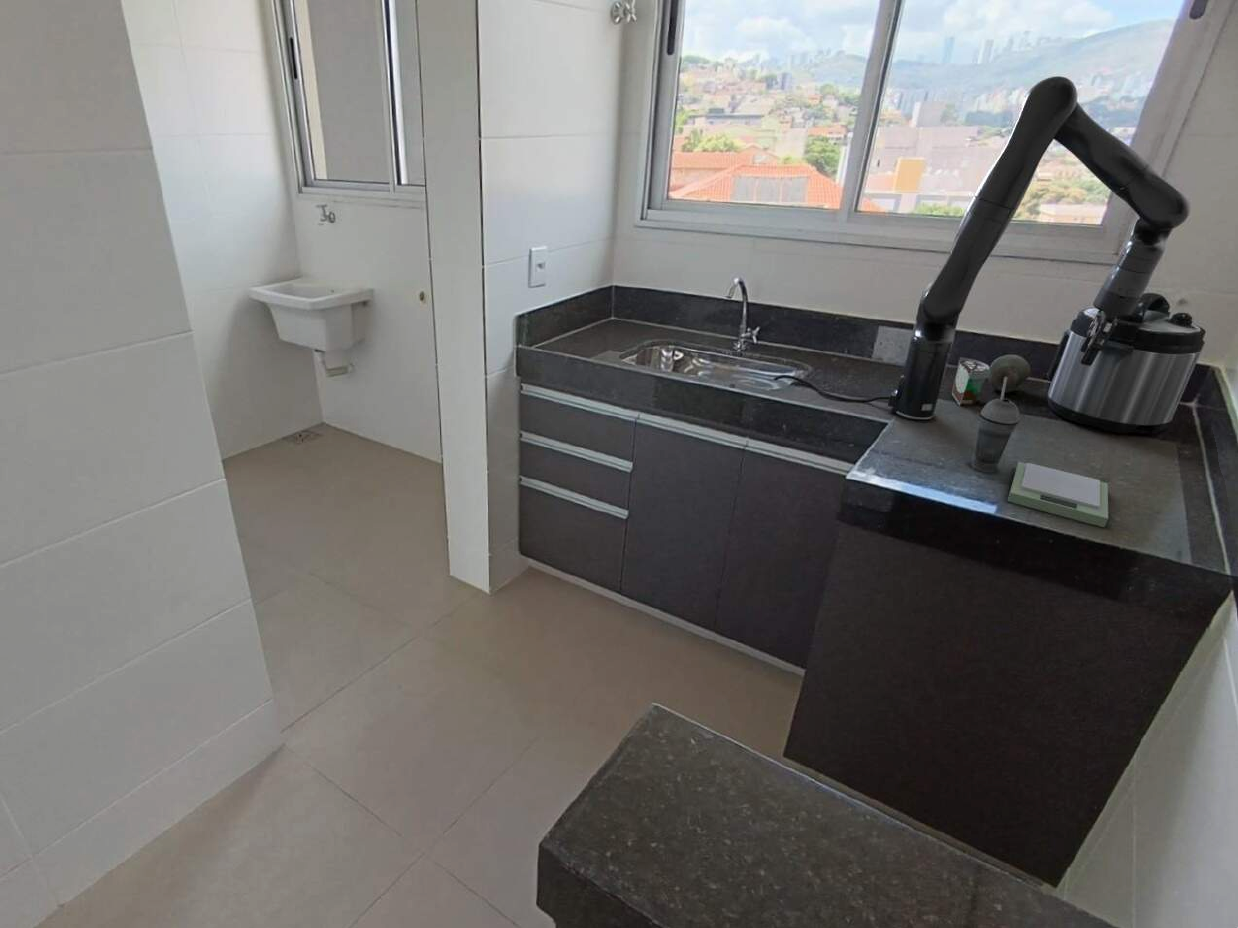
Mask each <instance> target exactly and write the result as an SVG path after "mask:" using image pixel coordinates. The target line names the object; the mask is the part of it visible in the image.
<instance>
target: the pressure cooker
mask: <svg viewBox="0 0 1238 928" xmlns="http://www.w3.org/2000/svg"><path fill="white" fill-rule="evenodd" d="M1170 309H1171V306H1170V303H1169V301H1168V300H1167V299H1166V297H1165V296H1164V295H1162V294H1160V293H1157V292H1144V293H1143V295H1142V296H1141V298H1140V300H1139V302H1138V304H1137V305H1136V307H1135V309H1134V311H1133V312H1132V314H1131V315H1129V316H1121V315H1120V316H1117V317H1116V322H1117V324H1116V328H1115V329H1114V330H1113V332H1112V334H1111V336H1110V338H1109V340H1108V341H1107V343H1106V345H1105V347H1104V350H1103V351H1099V353H1098V354H1097V356H1096V358H1095V360H1094V362H1093V363H1092V365H1091V366H1087V365H1083V364H1081V359H1082V357H1083V356H1084V354H1085V353H1084V352H1081V347H1082V345H1083V343H1084V341H1085V339H1086V338H1087V336H1089V335H1087V334H1088V331H1089V326H1090V325H1091V323H1092V322H1093V320H1094V317H1095V316H1096V314H1097V313H1098V311H1099V310H1098V309H1097V308H1095V307H1094V308H1093V307H1092V308H1083V309H1081V310H1079V311H1078V313H1077V316H1076V318H1075V319H1073V320H1072V322H1071V325H1070V328H1069V329H1067V330H1065V331H1064V332H1063V334H1062V337H1061V339H1060V341H1059V344H1058V346H1057V349H1056V351H1055V354H1054V356H1053V357H1052V361H1051V363H1050V365H1049V368H1048V371H1047V373H1046V376H1047V382H1050V385H1049V388H1048V391H1047V395H1046V402H1047V404H1048V408H1050V410H1052V411H1053V412H1054V413H1056V414H1057V415H1059V416H1061V417H1063V418H1065V419H1067V420H1069V421H1072V422H1075V423H1077V424H1080V425H1088V426H1091V427H1095V428H1098V429H1101V430H1104V431H1109V432H1114V433H1119V434H1130V433H1131V432H1133V433H1137V434H1147V435H1151V434H1152V435H1153V434H1157V433H1160V432H1162V431H1163V430H1165V428H1167V427H1168V426H1169V425H1170V424H1171V422H1172V420H1173V418H1174V416H1175V413H1176V411H1177V408H1178V406H1179V404H1180V402H1181V399H1182V397H1183V395H1184V393H1185V391H1186V388H1187V385H1188V383H1189V380H1190V378H1191V376H1192V374H1193V372H1194V370H1195V367H1196V365H1197V363H1198V360H1199V358H1200V356H1201V353H1202V351H1203V348H1204V346H1205V341H1204V338H1205V335H1206V333H1207V331H1206V329H1204V328H1203V327H1201V326H1199V325H1196V324H1194V323H1193V320H1194V318H1193V316H1192V315H1191V314H1190V313H1188V312H1177V313H1174V314H1172V316H1171V317H1170V315H1171V311H1170ZM1100 343H1101V341H1099V340H1098V341H1097V343H1096V344H1100Z"/></svg>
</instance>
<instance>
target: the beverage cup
mask: <svg viewBox="0 0 1238 928" xmlns="http://www.w3.org/2000/svg"><path fill="white" fill-rule="evenodd" d="M1006 382H1007V377H1005V378H1004V383H1003V388H1002V391H1001V392H1000V398H995V399H992V400H990V401H988V402H987V403H986V404H985V405H984V406H983V408H982V409H981V411H980V413H979V418H978V419H979V420H978V430H977V435H976V438H975V439H976V440H975V444H974V448H973V454H972V462H971V467H972V468H973V469H974V470H975V471H978V472H983V473H986V474H987V473H989V474H990V473H991V474H992V473H994V472H995V470H996V468H997V466H998V464H999V463H1000V460H1001V458H1002V456H1003V454H1004V451H1005V450H1006V447H1007V445H1008V442H1009V440H1010V437H1011V435H1012V433H1013V432H1014V431H1015V429H1016V427H1017V425H1019V422H1020V420H1019V419H1020V411H1019V409H1018V406H1017V404H1016V403H1014V402H1013V401H1012V400H1011V399H1008V398H1004V397H1005V393H1006V392H1005V387H1006Z"/></svg>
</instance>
